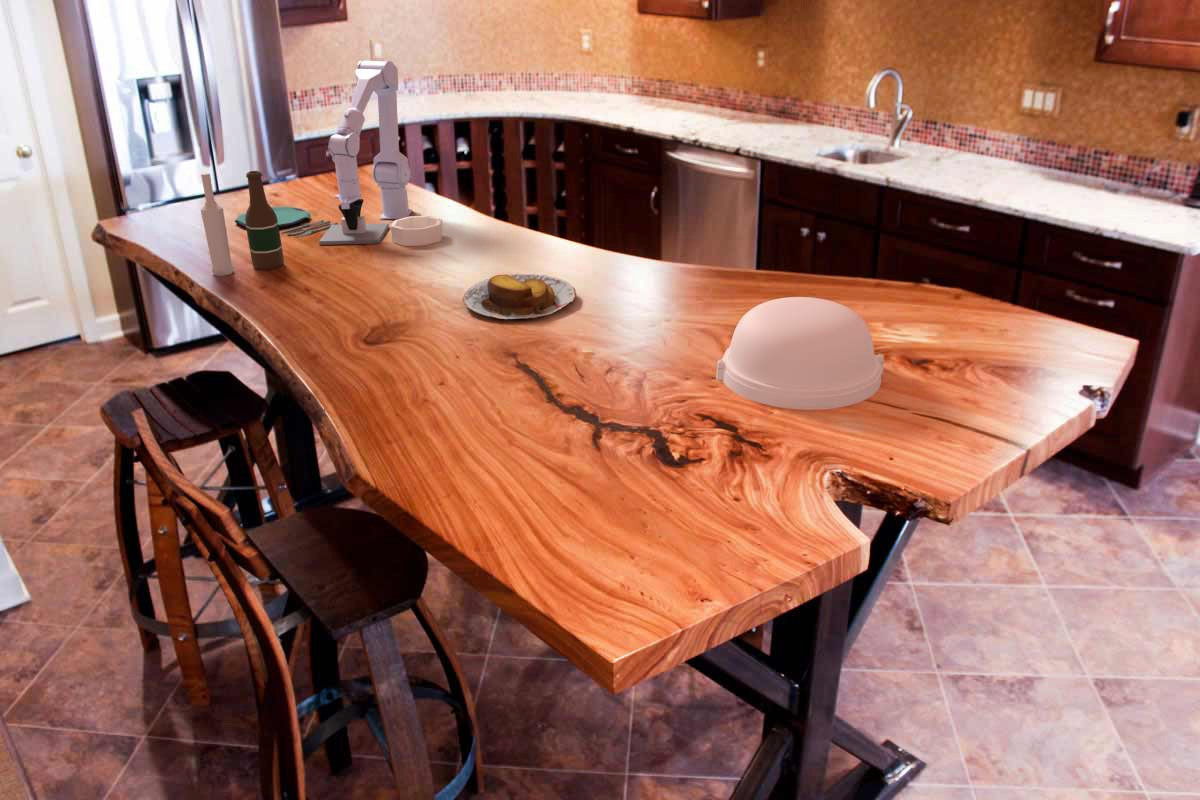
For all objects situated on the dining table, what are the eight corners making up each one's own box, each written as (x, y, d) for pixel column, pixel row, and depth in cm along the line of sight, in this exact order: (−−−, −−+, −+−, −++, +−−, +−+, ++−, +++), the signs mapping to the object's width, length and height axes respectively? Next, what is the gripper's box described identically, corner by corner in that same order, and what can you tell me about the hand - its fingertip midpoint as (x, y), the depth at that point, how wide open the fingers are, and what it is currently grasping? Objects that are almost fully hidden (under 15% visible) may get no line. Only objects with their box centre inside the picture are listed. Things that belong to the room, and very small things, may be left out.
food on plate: (593, 294, 245) (592, 267, 242) (545, 331, 225) (544, 302, 222) (497, 281, 255) (495, 254, 252) (443, 315, 234) (440, 287, 232)
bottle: (237, 269, 266) (220, 171, 256) (229, 276, 262) (211, 176, 251) (217, 269, 267) (199, 171, 256) (209, 276, 262) (190, 176, 252)
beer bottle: (252, 263, 271) (236, 170, 261) (283, 259, 273) (269, 167, 263) (253, 272, 264) (237, 176, 254) (285, 268, 267) (270, 173, 256)
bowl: (398, 232, 294) (396, 216, 292) (444, 231, 294) (443, 215, 292) (390, 246, 282) (388, 229, 280) (438, 245, 282) (437, 228, 280)
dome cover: (862, 343, 214) (868, 277, 208) (907, 407, 187) (915, 333, 181) (705, 349, 213) (706, 283, 207) (728, 414, 186) (730, 340, 180)
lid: (332, 228, 299) (330, 210, 297) (388, 226, 299) (387, 209, 296) (319, 244, 284) (316, 226, 282) (378, 243, 284) (376, 225, 282)
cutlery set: (281, 209, 320) (280, 202, 319) (345, 227, 303) (344, 219, 302) (224, 225, 306) (223, 217, 305) (287, 244, 289) (286, 236, 288)
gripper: (338, 173, 291) (345, 221, 297) (327, 186, 278) (333, 236, 284) (364, 172, 291) (370, 220, 297) (353, 185, 278) (360, 235, 284)
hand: (354, 228), depth 291 cm, fingers closed on lid, 2 cm apart
